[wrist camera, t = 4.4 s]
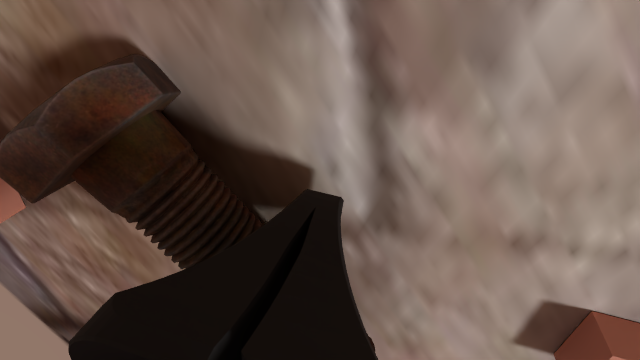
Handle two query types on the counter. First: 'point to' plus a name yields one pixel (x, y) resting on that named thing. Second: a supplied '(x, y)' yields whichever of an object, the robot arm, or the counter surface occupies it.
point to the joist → (602, 340)
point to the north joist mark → (9, 201)
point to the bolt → (127, 160)
